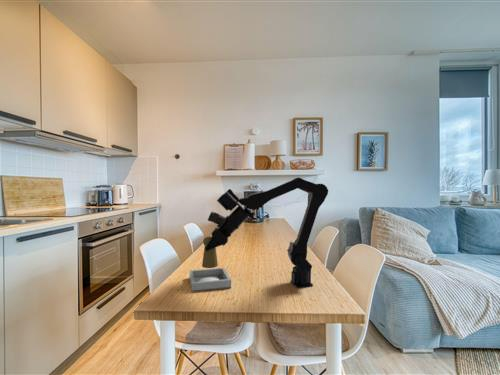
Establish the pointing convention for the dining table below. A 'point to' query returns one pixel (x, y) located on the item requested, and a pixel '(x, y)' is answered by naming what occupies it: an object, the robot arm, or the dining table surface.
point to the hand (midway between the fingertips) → (206, 248)
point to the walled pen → (209, 279)
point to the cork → (209, 255)
